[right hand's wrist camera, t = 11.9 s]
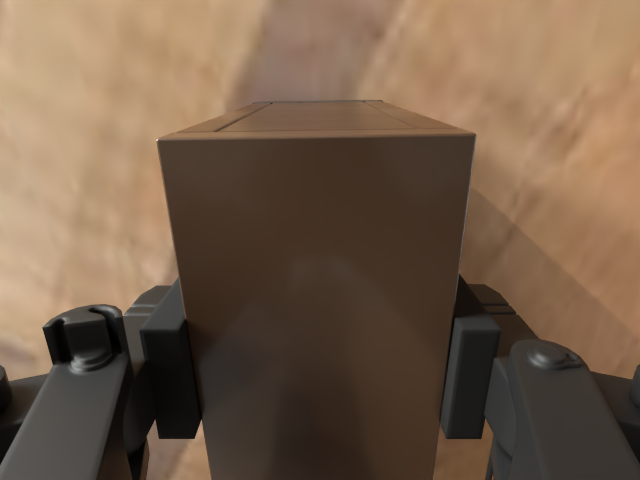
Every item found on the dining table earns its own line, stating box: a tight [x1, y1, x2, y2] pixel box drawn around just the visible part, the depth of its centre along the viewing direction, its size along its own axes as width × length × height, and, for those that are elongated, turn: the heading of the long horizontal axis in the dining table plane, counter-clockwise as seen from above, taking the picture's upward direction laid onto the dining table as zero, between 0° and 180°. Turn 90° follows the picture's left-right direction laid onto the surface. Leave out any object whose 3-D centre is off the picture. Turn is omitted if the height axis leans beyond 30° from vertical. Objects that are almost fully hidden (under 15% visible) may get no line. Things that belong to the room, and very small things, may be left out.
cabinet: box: [157, 100, 476, 480], centre depth 15 cm, size 17×5×11 cm, turn 1°
